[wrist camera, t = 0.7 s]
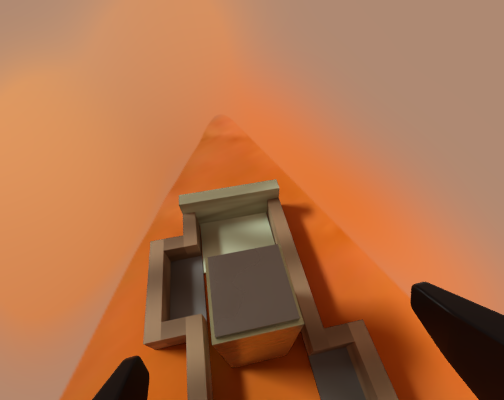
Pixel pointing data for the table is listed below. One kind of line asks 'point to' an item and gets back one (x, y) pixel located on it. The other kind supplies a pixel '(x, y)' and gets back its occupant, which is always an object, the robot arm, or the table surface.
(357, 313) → the table surface
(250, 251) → the olive tin
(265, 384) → the table surface
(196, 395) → the trap lane
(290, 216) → the table surface
